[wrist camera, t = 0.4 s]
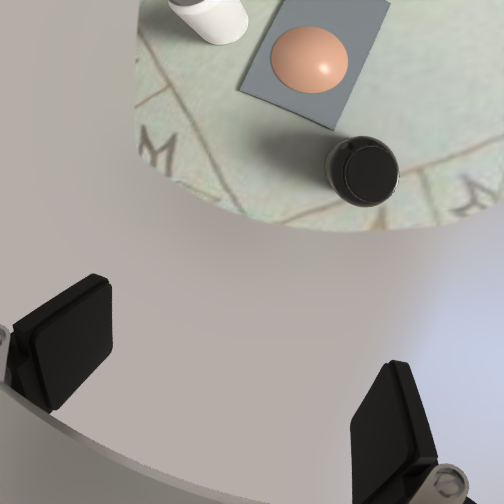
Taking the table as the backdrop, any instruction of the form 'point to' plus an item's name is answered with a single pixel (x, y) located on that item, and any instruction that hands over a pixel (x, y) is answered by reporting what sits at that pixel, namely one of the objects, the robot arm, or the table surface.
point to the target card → (315, 56)
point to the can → (213, 18)
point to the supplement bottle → (362, 171)
